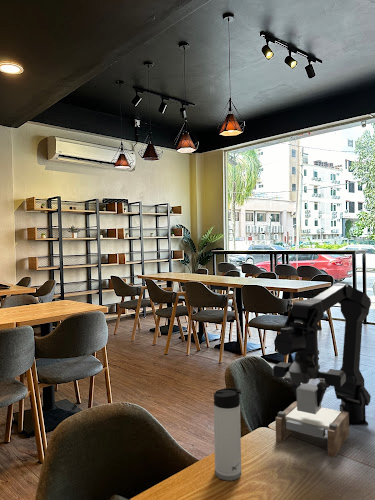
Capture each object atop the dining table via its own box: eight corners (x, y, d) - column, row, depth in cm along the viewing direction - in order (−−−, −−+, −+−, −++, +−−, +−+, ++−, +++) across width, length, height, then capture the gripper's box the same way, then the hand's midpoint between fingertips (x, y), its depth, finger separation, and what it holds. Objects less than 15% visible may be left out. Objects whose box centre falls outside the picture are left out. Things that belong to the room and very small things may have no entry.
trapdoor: (300, 411, 122) (300, 402, 122) (341, 420, 115) (341, 411, 115) (282, 428, 110) (282, 418, 110) (327, 439, 103) (326, 429, 103)
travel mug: (241, 482, 92) (240, 395, 92) (213, 479, 93) (211, 393, 93) (243, 468, 98) (242, 386, 98) (216, 465, 99) (215, 384, 99)
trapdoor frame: (295, 422, 123) (295, 398, 123) (349, 435, 114) (348, 409, 114) (275, 441, 111) (275, 415, 111) (334, 457, 102) (333, 428, 102)
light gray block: (303, 404, 113) (302, 383, 113) (321, 407, 110) (320, 386, 110) (297, 410, 109) (296, 388, 109) (315, 414, 106) (314, 391, 106)
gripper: (263, 351, 109) (265, 408, 109) (333, 360, 98) (336, 423, 98) (279, 342, 118) (281, 394, 118) (345, 349, 107) (347, 407, 107)
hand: (309, 404), depth 110 cm, fingers closed on light gray block, 5 cm apart
